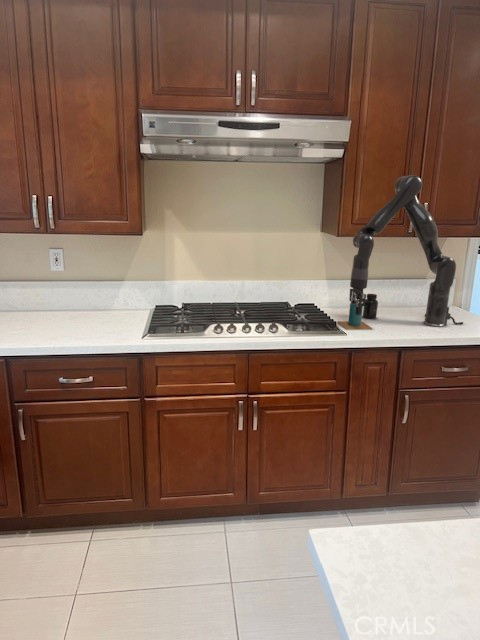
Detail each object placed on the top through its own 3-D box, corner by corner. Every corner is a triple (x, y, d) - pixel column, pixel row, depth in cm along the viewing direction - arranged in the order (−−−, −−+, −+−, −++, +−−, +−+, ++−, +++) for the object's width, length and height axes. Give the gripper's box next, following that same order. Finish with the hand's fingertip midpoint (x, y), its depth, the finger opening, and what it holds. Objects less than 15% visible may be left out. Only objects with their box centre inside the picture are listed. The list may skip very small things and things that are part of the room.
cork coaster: (361, 322, 226) (361, 321, 226) (371, 329, 214) (371, 327, 214) (337, 322, 224) (337, 321, 224) (346, 329, 213) (347, 328, 212)
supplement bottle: (376, 319, 232) (379, 296, 229) (362, 318, 233) (365, 295, 230) (375, 316, 238) (378, 293, 235) (362, 315, 240) (364, 292, 237)
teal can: (357, 322, 222) (360, 302, 220) (362, 326, 217) (364, 305, 214) (346, 322, 221) (348, 302, 219) (350, 326, 216) (353, 305, 213)
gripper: (373, 280, 207) (369, 316, 211) (360, 274, 221) (357, 309, 225) (357, 280, 206) (353, 316, 210) (345, 274, 220) (342, 309, 224)
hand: (355, 312), depth 218 cm, fingers closed on teal can, 5 cm apart
